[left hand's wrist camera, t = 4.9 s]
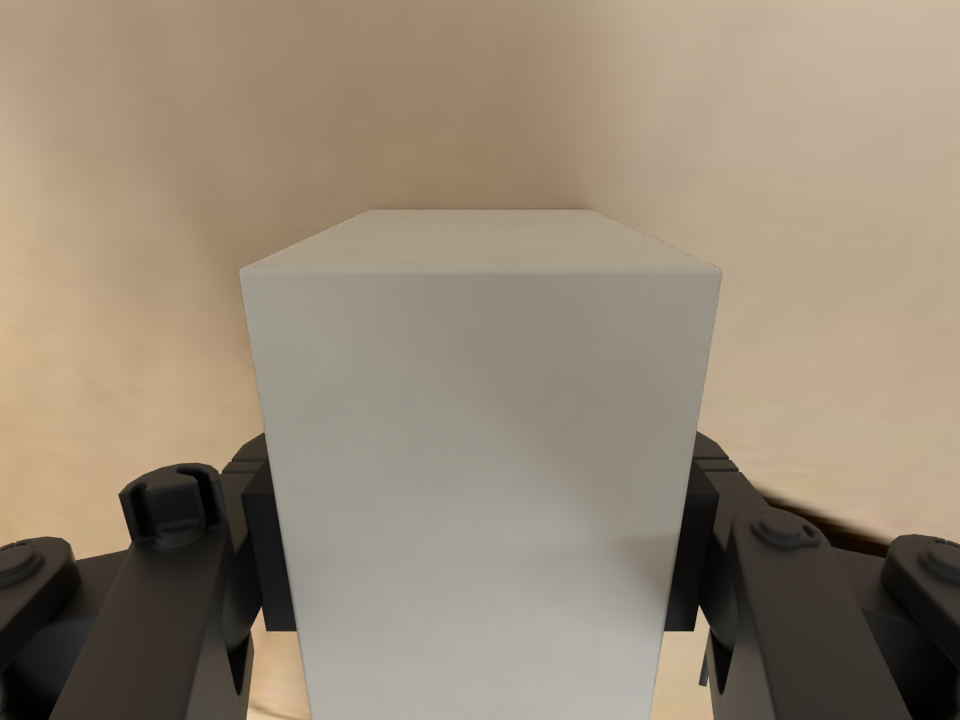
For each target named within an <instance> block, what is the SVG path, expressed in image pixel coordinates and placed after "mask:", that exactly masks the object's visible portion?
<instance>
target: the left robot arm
mask: <svg viewBox="0 0 960 720" xmlns="http://www.w3.org/2000/svg"><path fill="white" fill-rule="evenodd" d="M118 495H119V498H120V502H121V505H122V509H123V512H124V516H125V519H126V523H127V526H128V530H129V533H130V537H131V540H132V542H131V544H130V547H129V549H127V550H124V551H120V552H115V553H110V554H106V555H101V556H96V557H91V558H86V559H81V560H75V557H74V554H73V551H72V548H71V546H70V544H69V543H68V542H66V541H65V540H64V539H62V538H55V537H40V538H33V539H25V540H21V541H17V542H16V543H11V544H8V545H5V546H3V547H1V548H0V720H246V718H247V709H248V700H249V692H250V683H251V675H252V666H253V658H254V646H253V639H252V635H251V630H250V629H251V627H252V625H253V623H254V621H255V619H256V617H257V615H258V613H259V610H260V608H261V606H262V610H263V616H264V621H265V626H266V631H297V628H296V622H295V616H294V609H293V603H292V597H291V591H290V585H289V579H288V573H287V566H286V560H285V554H284V548H283V542H282V536H281V530H280V524H279V517H278V511H277V505H276V499H275V493H274V487H273V481H272V474H271V468H270V462H269V456H268V450H267V444H266V438H265V433H262V434H260V435H259V436H257V437H256V438H254V439H252V440H251V441H249V442H247V443H246V444H244V445H243V446H242V447H241V449H240V450H239V451H238V452H237V453H236V455H235V456H234V457H233V458H232V462H229V463H228V464H227V466H226V467H225V468H224V469H223V470H222V474H219V473H218V471H217V470H216V469H215V468H213V467H212V466H210V465H206V464H201V463H182V464H176V465H171V466H167V467H162V468H159V469H157V470H154V471H152V472H149V473H147V474H144V475H142V476H140V477H139V478H137V479H136V480H134V481H132V482H131V483H129V484H128V485H127V486H126V487H125V488H124V489H123V490H122V491H121V492H120V493H119V494H118ZM699 605H700V607H701V609H702V611H703V613H704V615H705V617H706V619H707V621H708V623H709V625H710V630H709V635H708V639H707V644H706V649H705V654H704V659H703V664H702V669H701V674H700V680H699V685H701V686H705V687H706V685H707V680H708V675H709V682H710V691H711V699H712V708H713V716H714V720H960V544H957V543H954V542H952V541H949V540H948V541H946V540H945V539H942V538H937V537H931V536H924V535H917V534H912V535H903V536H899V537H897V538H896V539H894V540H893V541H892V542H891V544H890V547H889V550H888V553H887V556H886V558H881V557H876V556H871V555H866V554H861V553H856V552H851V551H847V550H842V549H838V548H834V547H831V546H830V544H829V541H828V540H827V539H826V537H825V536H824V535H823V533H822V532H821V531H820V530H819V529H818V528H817V527H815V526H814V525H812V524H811V523H810V522H808V521H807V520H806V519H803V518H801V517H799V516H797V515H795V514H792V513H790V512H788V511H784V510H780V509H776V508H772V507H770V506H769V505H768V504H767V503H766V501H765V500H764V499H763V498H762V497H761V495H760V494H759V493H758V492H757V491H756V489H755V488H754V487H753V486H752V485H751V483H750V482H749V481H748V480H747V479H746V477H745V476H744V475H743V474H742V473H741V472H739V469H738V468H737V467H736V465H735V464H734V463H733V462H732V461H731V460H729V457H728V456H727V454H726V453H725V452H724V451H723V450H722V448H721V447H720V446H719V445H718V444H717V443H716V442H714V441H713V440H711V439H709V438H708V437H706V436H705V435H703V434H701V433H700V432H698V431H696V437H695V443H694V449H693V455H692V461H691V468H690V474H689V480H688V486H687V492H686V498H685V504H684V510H683V516H682V523H681V529H680V535H679V541H678V547H677V553H676V559H675V565H674V571H673V578H672V584H671V590H670V596H669V602H668V608H667V614H666V620H665V626H664V631H694V628H695V623H696V617H697V612H698V607H699Z"/></svg>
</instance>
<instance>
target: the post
mask: <svg viewBox="0 0 960 720" xmlns="http://www.w3.org/2000/svg"><path fill="white" fill-rule="evenodd" d="M239 278H240V284H241V290H242V296H243V302H244V309H245V315H246V321H247V327H248V333H249V339H250V345H251V352H252V358H253V364H254V370H255V376H256V382H257V388H258V395H259V401H260V407H261V413H262V419H263V425H264V431H265V438H266V444H267V450H268V456H269V462H270V468H271V474H272V481H273V487H274V493H275V499H276V505H277V511H278V517H279V524H280V530H281V536H282V542H283V548H284V554H285V560H286V566H287V573H288V579H289V585H290V591H291V597H292V603H293V609H294V616H295V622H296V628H297V634H298V640H299V646H300V652H301V659H302V665H303V671H304V677H305V683H306V689H307V695H308V702H309V708H310V714H311V720H649V718H650V712H651V706H652V700H653V694H654V688H655V681H656V675H657V669H658V663H659V657H660V651H661V645H662V639H663V633H664V626H665V620H666V614H667V608H668V602H669V596H670V590H671V584H672V578H673V571H674V565H675V559H676V553H677V547H678V541H679V535H680V529H681V523H682V516H683V510H684V504H685V498H686V492H687V486H688V480H689V474H690V468H691V461H692V455H693V449H694V443H695V437H696V431H697V425H698V419H699V413H700V406H701V400H702V394H703V388H704V382H705V376H706V370H707V364H708V358H709V351H710V345H711V339H712V333H713V327H714V321H715V315H716V309H717V303H718V296H719V290H720V284H721V278H722V271H721V269H720V268H718V267H716V266H714V265H712V264H709V263H707V262H705V261H703V260H701V259H698V258H696V257H694V256H692V255H690V254H687V253H685V252H683V251H681V250H679V249H676V248H674V247H672V246H670V245H668V244H666V243H663V242H661V241H659V240H657V239H655V238H652V237H650V236H648V235H646V234H644V233H641V232H639V231H637V230H635V229H633V228H630V227H628V226H626V225H624V224H622V223H619V222H617V221H615V220H613V219H611V218H608V217H606V216H604V215H602V214H600V213H597V212H595V211H593V210H591V209H369V210H367V211H365V212H363V213H360V214H358V215H356V216H354V217H352V218H350V219H347V220H345V221H343V222H341V223H339V224H337V225H334V226H332V227H330V228H328V229H326V230H323V231H321V232H319V233H317V234H315V235H313V236H310V237H308V238H306V239H304V240H302V241H300V242H297V243H295V244H293V245H291V246H289V247H286V248H284V249H282V250H280V251H278V252H276V253H273V254H271V255H269V256H267V257H265V258H263V259H260V260H258V261H256V262H254V263H252V264H249V265H247V266H245V267H243V268H241V269H240V272H239Z"/></svg>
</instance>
